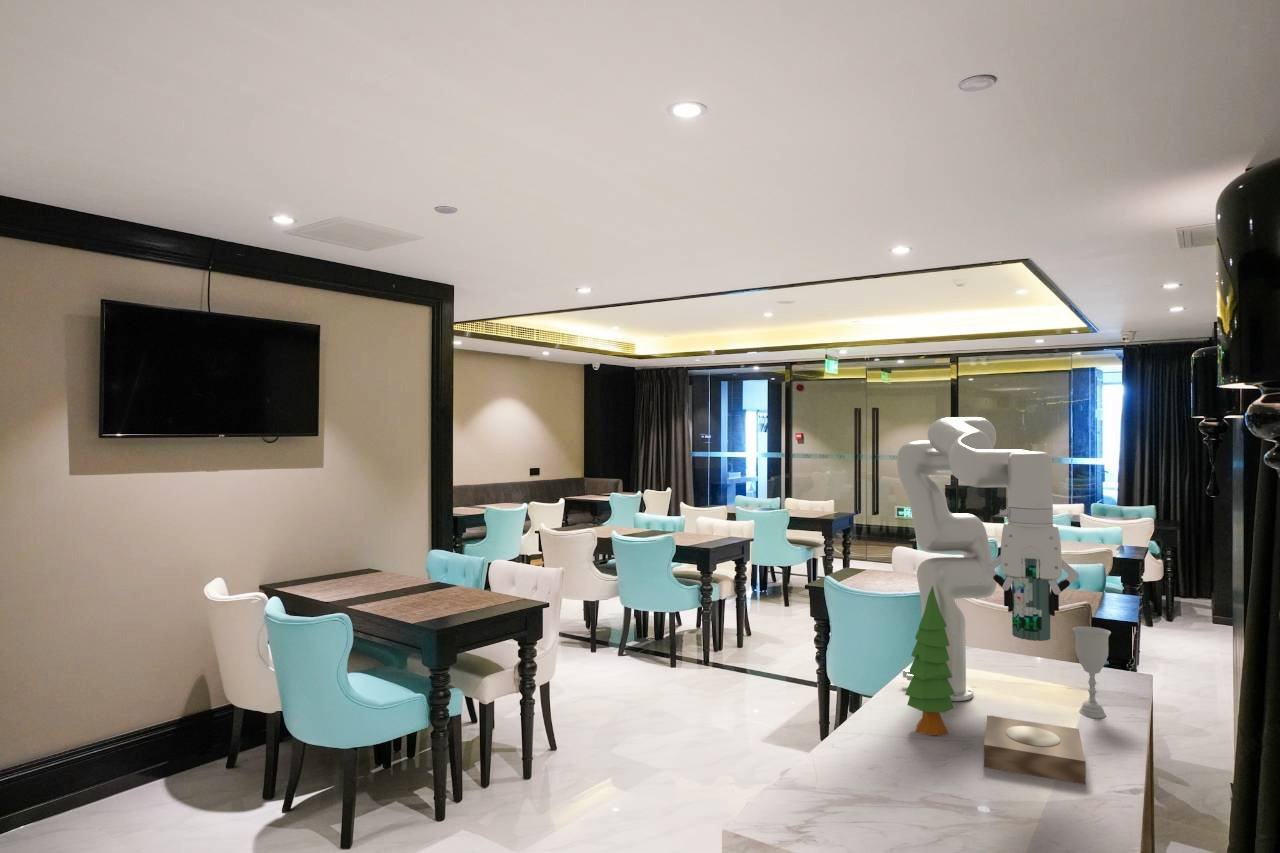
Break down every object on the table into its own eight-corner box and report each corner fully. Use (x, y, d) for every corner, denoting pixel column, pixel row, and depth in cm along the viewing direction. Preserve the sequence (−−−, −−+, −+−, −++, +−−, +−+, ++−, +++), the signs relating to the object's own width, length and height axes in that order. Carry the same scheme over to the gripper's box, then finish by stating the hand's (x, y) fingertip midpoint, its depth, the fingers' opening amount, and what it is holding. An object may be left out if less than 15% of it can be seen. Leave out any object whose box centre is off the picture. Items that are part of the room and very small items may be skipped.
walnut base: (984, 766, 138) (983, 743, 138) (987, 735, 152) (987, 714, 152) (1085, 784, 130) (1085, 759, 130) (1078, 749, 145) (1078, 727, 145)
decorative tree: (937, 742, 148) (936, 590, 149) (894, 728, 156) (893, 583, 156) (962, 730, 155) (960, 583, 155) (919, 717, 162) (918, 577, 162)
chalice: (1102, 708, 167) (1101, 626, 167) (1118, 719, 160) (1117, 634, 160) (1067, 707, 167) (1066, 626, 167) (1082, 718, 160) (1081, 634, 161)
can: (1005, 633, 144) (1005, 554, 144) (1031, 631, 145) (1030, 553, 146) (1031, 642, 138) (1030, 559, 138) (1057, 639, 140) (1056, 558, 140)
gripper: (978, 516, 142) (979, 612, 142) (1085, 521, 135) (1086, 622, 134) (980, 513, 149) (981, 603, 149) (1081, 517, 141) (1082, 613, 141)
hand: (1031, 611), depth 142 cm, fingers closed on can, 6 cm apart
